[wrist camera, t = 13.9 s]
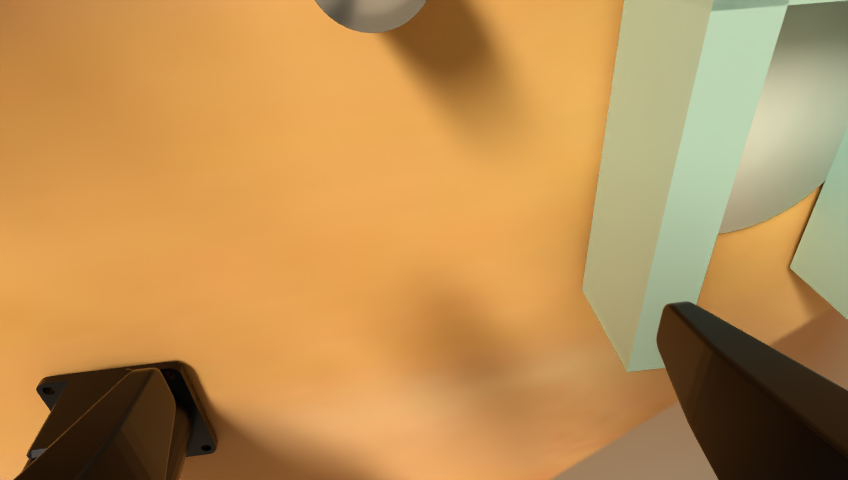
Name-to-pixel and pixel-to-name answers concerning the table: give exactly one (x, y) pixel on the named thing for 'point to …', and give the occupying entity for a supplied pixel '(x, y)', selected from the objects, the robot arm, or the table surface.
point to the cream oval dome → (794, 116)
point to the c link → (689, 165)
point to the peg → (371, 13)
